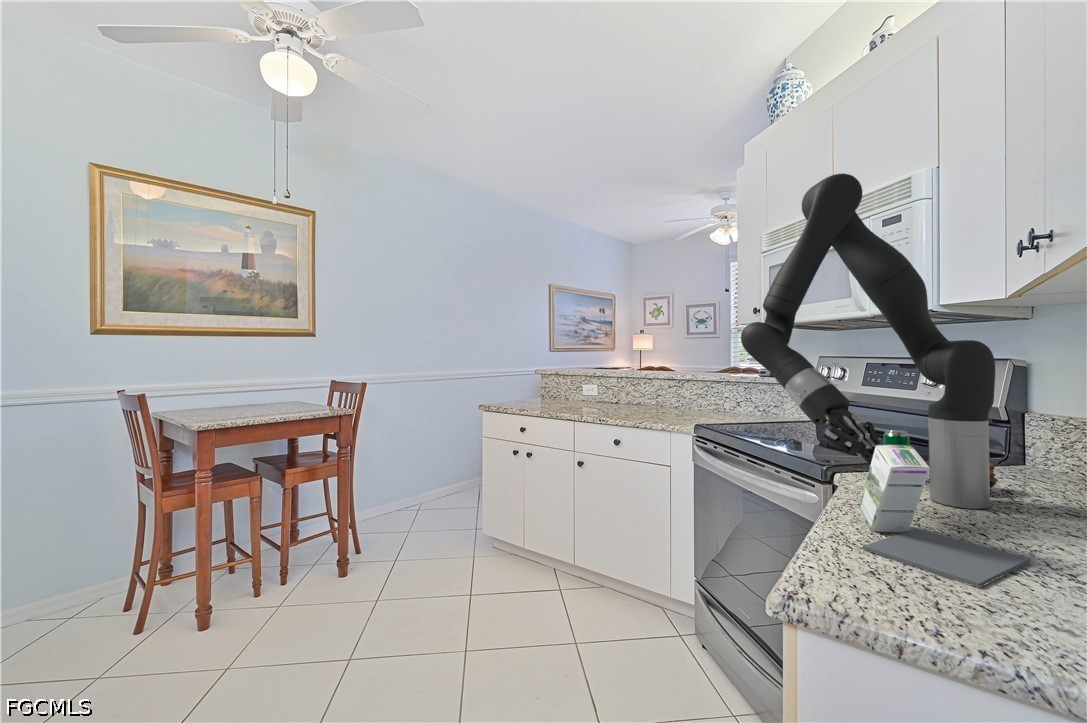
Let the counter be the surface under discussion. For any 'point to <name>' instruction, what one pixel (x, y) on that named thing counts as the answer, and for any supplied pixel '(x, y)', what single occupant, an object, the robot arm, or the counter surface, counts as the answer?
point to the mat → (948, 556)
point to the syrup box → (893, 488)
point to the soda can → (896, 437)
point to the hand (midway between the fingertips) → (885, 469)
